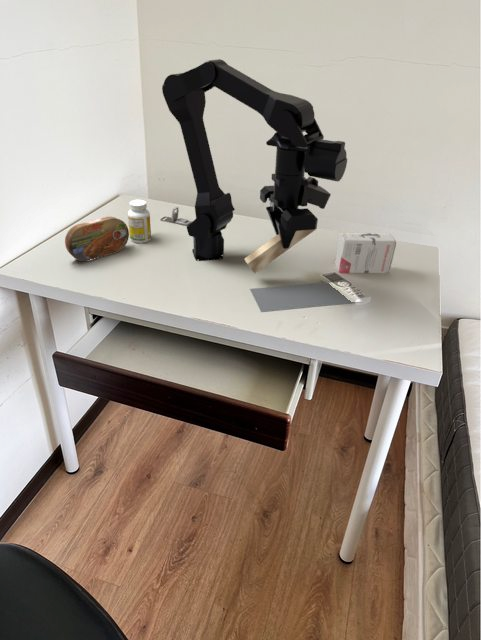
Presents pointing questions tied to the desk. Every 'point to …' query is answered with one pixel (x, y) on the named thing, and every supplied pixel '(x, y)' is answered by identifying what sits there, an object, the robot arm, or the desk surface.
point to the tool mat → (297, 296)
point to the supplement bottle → (139, 222)
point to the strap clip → (176, 218)
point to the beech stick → (272, 250)
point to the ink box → (365, 252)
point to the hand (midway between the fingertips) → (283, 245)
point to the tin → (96, 238)
